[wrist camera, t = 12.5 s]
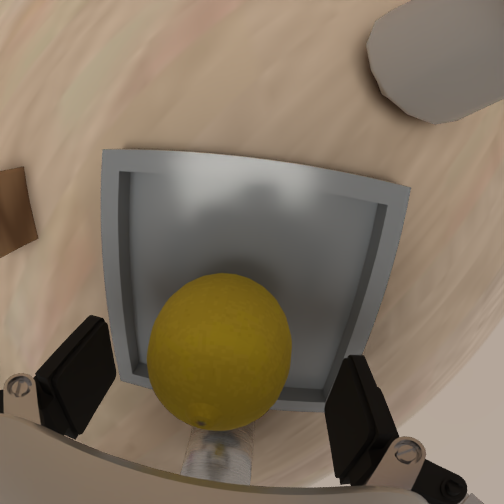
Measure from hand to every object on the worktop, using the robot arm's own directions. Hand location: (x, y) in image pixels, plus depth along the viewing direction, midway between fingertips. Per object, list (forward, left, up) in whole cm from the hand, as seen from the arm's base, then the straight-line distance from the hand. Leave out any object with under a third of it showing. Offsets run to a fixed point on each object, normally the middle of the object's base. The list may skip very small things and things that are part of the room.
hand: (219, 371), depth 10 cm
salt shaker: (+14, -7, -6) cm, 16 cm away
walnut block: (+4, +17, -6) cm, 18 cm away
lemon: (0, 0, -5) cm, 5 cm away
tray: (+1, 0, -6) cm, 6 cm away
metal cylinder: (-10, 0, -6) cm, 12 cm away
